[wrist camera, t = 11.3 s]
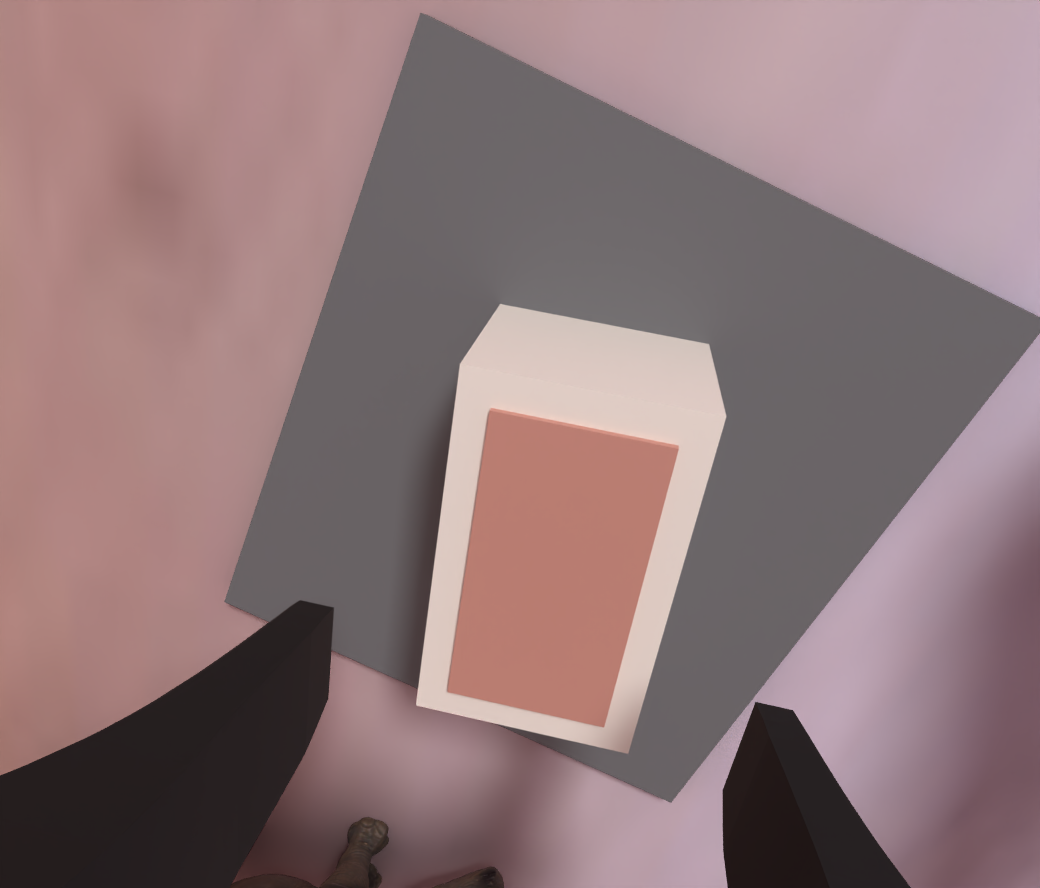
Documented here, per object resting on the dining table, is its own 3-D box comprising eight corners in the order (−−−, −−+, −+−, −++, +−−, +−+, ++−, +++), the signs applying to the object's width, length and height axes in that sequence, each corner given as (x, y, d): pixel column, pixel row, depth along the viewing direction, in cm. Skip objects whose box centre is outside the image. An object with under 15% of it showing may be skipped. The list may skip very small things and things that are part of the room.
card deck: (631, 631, 22) (628, 759, 18) (457, 593, 23) (414, 709, 18) (709, 343, 19) (726, 419, 14) (500, 303, 19) (457, 366, 15)
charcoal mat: (1038, 316, 18) (1048, 322, 17) (670, 789, 25) (670, 802, 25) (426, 14, 17) (420, 12, 17) (232, 592, 24) (224, 601, 24)
